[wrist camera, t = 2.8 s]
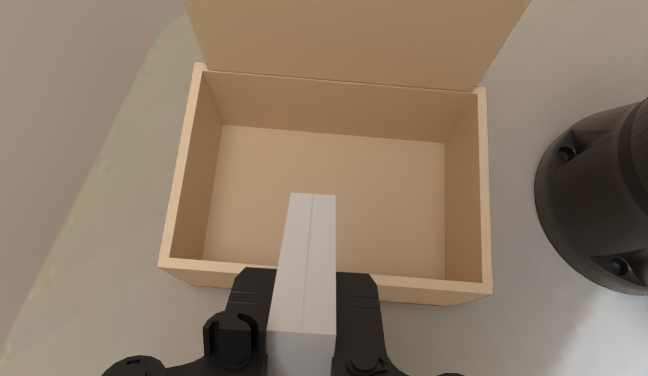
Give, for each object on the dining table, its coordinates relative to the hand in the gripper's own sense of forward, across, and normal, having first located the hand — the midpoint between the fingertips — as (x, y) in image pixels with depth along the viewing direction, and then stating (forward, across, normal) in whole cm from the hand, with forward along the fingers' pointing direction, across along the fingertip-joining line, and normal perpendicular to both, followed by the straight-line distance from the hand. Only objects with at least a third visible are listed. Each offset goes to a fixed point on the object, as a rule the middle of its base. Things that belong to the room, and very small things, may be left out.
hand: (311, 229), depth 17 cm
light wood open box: (+20, +1, -10) cm, 23 cm away
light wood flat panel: (+19, +1, +1) cm, 19 cm away
